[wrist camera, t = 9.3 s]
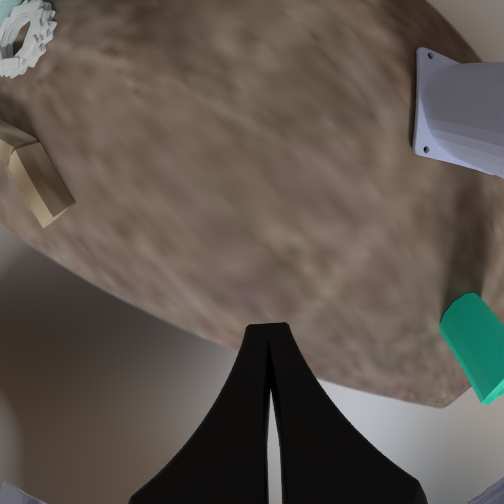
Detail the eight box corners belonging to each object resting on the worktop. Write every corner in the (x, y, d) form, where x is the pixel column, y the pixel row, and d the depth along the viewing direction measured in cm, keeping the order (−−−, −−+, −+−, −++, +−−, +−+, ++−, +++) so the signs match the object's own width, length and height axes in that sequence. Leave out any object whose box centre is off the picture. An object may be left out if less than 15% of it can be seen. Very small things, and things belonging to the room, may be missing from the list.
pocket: (220, -53, 9) (215, -75, 6) (72, 216, 18) (50, 233, 15) (41, -59, 4) (25, -67, 1) (-46, 136, 13) (-64, 142, 10)
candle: (443, 303, 22) (503, 395, 11) (484, 284, 21) (546, 361, 11) (435, 342, 25) (479, 426, 14) (474, 324, 24) (522, 397, 13)
